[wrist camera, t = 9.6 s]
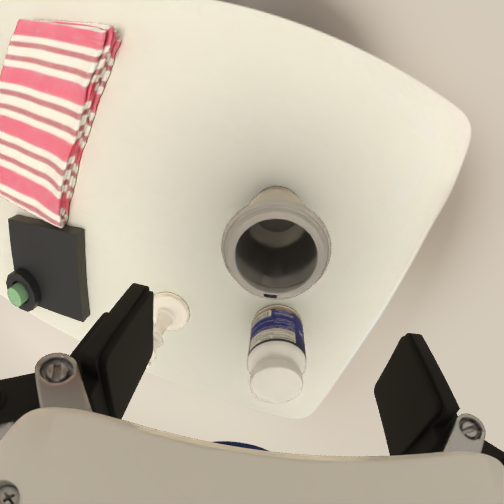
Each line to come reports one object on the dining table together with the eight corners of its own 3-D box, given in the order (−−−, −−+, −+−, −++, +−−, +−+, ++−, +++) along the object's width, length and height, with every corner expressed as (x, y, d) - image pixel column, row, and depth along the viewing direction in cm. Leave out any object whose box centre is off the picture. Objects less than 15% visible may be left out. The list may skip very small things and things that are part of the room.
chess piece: (160, 284, 34) (124, 336, 25) (197, 307, 35) (172, 366, 26) (143, 312, 36) (109, 366, 27) (178, 334, 37) (152, 392, 27)
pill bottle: (298, 345, 36) (301, 409, 27) (250, 341, 36) (241, 404, 27) (306, 305, 34) (314, 366, 25) (254, 300, 34) (245, 360, 25)
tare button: (30, 302, 34) (22, 309, 32) (16, 297, 34) (9, 303, 32) (26, 284, 33) (19, 291, 31) (13, 279, 33) (5, 285, 31)
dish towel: (129, 30, 24) (113, 22, 21) (69, 228, 33) (52, 237, 29) (28, 20, 23) (11, 16, 19) (-13, 184, 31) (-30, 190, 28)
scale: (90, 316, 37) (77, 331, 34) (24, 293, 37) (10, 304, 34) (84, 229, 33) (67, 239, 29) (14, 214, 33) (-3, 222, 29)
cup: (236, 237, 32) (214, 297, 20) (243, 170, 29) (222, 196, 18) (307, 246, 31) (322, 311, 20) (318, 181, 29) (344, 213, 18)
